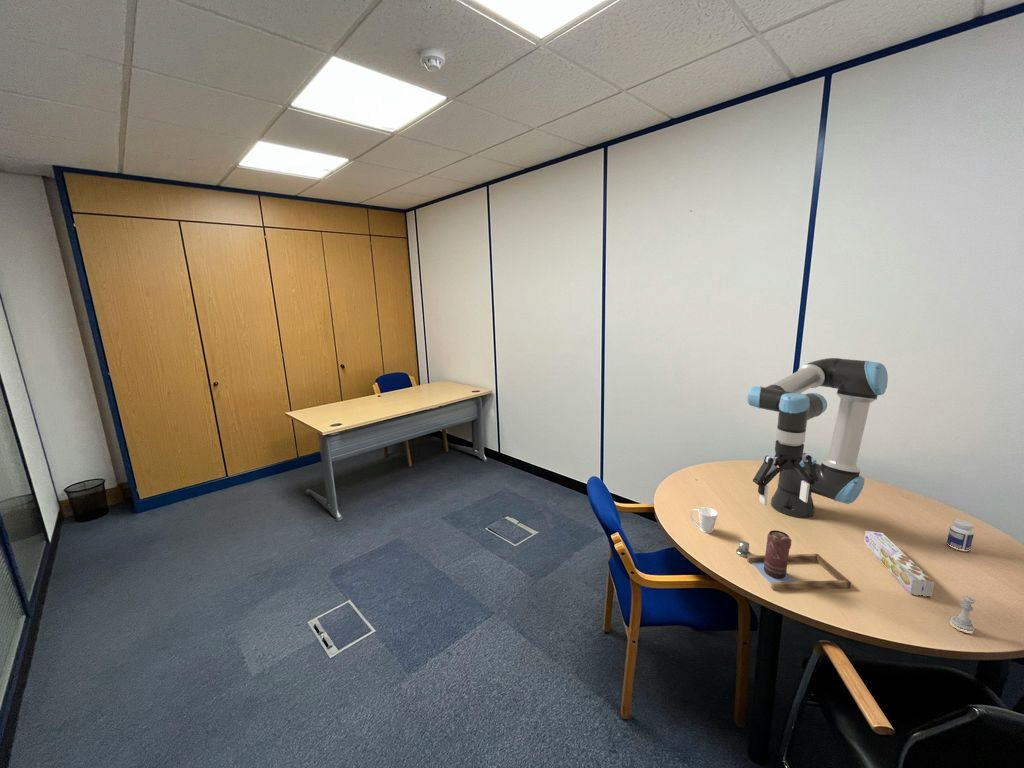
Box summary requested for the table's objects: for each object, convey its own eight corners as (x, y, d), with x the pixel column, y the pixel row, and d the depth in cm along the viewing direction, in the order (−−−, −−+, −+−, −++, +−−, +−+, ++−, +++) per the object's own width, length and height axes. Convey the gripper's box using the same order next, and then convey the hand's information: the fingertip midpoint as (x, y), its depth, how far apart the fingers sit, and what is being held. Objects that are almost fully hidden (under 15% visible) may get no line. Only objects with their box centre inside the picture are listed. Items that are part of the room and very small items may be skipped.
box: (862, 543, 147) (865, 529, 146) (880, 545, 146) (883, 531, 144) (910, 596, 122) (913, 579, 120) (932, 599, 120) (935, 583, 119)
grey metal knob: (745, 549, 145) (747, 539, 144) (753, 557, 141) (754, 547, 140) (733, 549, 145) (734, 540, 144) (740, 557, 141) (741, 547, 140)
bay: (816, 559, 139) (817, 553, 138) (850, 587, 125) (851, 582, 125) (747, 561, 139) (747, 555, 138) (772, 590, 125) (773, 584, 125)
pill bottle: (962, 544, 145) (968, 519, 142) (974, 554, 139) (980, 528, 137) (942, 541, 146) (947, 516, 144) (952, 551, 141) (958, 525, 139)
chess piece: (974, 637, 107) (983, 605, 104) (950, 628, 110) (958, 597, 107) (972, 627, 110) (980, 595, 108) (948, 619, 113) (956, 588, 111)
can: (786, 582, 128) (792, 542, 125) (763, 575, 131) (768, 536, 128) (786, 571, 133) (791, 533, 130) (763, 564, 136) (768, 527, 133)
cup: (711, 537, 152) (713, 518, 151) (685, 526, 160) (687, 508, 158) (719, 530, 157) (721, 511, 155) (694, 520, 164) (695, 502, 163)
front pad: (775, 562, 138) (775, 561, 137) (798, 586, 127) (798, 584, 127) (752, 563, 138) (752, 562, 137) (773, 586, 127) (773, 585, 127)
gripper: (819, 435, 133) (811, 493, 138) (744, 439, 133) (739, 498, 138) (837, 443, 126) (829, 505, 131) (758, 448, 125) (752, 510, 130)
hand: (783, 501), depth 134 cm, fingers open, 13 cm apart
